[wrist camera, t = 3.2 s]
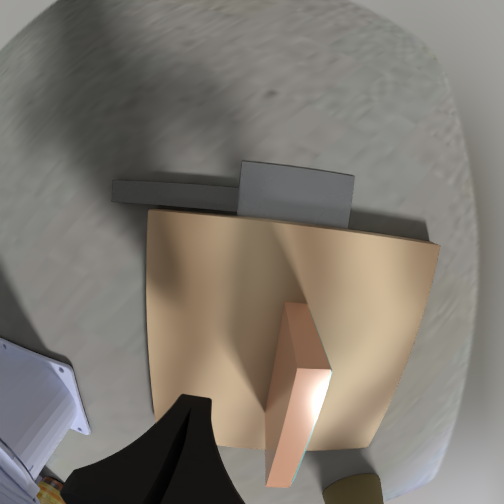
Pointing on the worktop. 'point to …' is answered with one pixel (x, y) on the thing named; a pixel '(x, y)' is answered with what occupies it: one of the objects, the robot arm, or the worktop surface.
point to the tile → (294, 394)
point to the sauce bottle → (49, 491)
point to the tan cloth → (280, 317)
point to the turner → (256, 194)
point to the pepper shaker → (355, 490)
